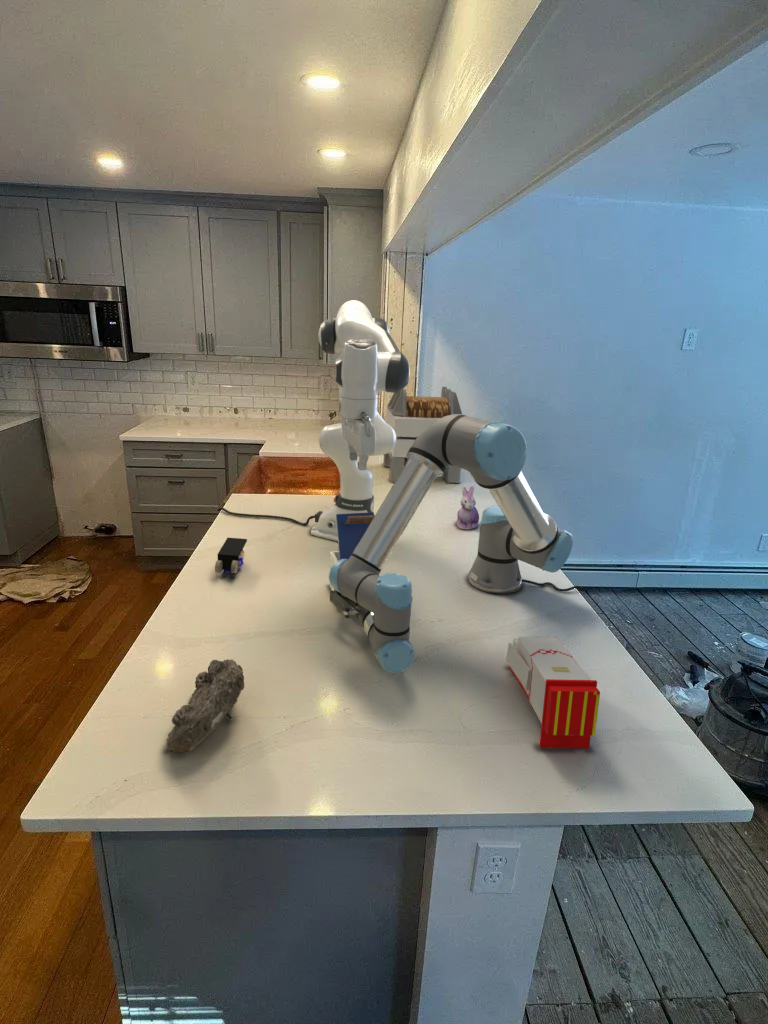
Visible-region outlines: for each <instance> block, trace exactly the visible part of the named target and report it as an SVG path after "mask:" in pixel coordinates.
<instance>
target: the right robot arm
mask: <svg viewBox="0 0 768 1024" xmlns="http://www.w3.org/2000/svg"><path fill="white" fill-rule="evenodd" d="M527 449H528V446H527V442H526V439H525V436H524V435H523V433H522V432H521V430H519V429H518V428H517V427H515V426H513V425H510V424H507V423H505V422H502V421H494V420H489V419H484V418H479V417H473V416H469V415H465V414H463V413H462V414H452V415H448V416H445V417H442V418H440V419H438V420H437V421H435V422H434V423H432V424H431V425H430V426H429V427H427V428H426V429H425V430H424V431H423V432H422V433H421V434H420V435H419V437H418V438H417V439H416V440H415V442H414V443H413V444H412V446H411V447H410V449H409V451H408V453H407V454H406V456H407V459H408V461H407V463H406V464H405V465H404V468H403V469H402V471H401V473H400V474H399V476H398V478H397V480H396V481H395V482H393V485H392V486H391V488H390V490H389V491H388V493H387V495H386V496H385V498H384V500H383V501H382V503H381V504H380V506H379V508H378V509H377V511H376V513H375V514H374V515H375V516H374V518H373V520H372V521H371V523H370V525H369V526H368V528H367V530H366V531H365V533H364V535H363V536H362V538H361V540H360V541H359V543H358V545H357V546H356V548H355V550H354V551H353V553H352V555H351V556H350V558H349V559H341V560H339V561H338V562H337V563H335V564H334V565H333V566H332V568H331V570H330V569H329V573H328V582H329V585H330V584H331V586H332V587H333V588H334V591H332V590H330V591H329V602H330V603H332V605H334V607H336V609H337V610H338V611H340V612H341V613H342V614H343V617H344V619H349V618H350V616H352V615H354V616H356V617H357V618H358V619H359V622H360V625H361V626H362V628H363V630H364V632H365V634H366V637H367V639H368V641H369V643H370V645H371V647H372V650H373V652H374V655H375V658H376V660H377V661H378V663H379V665H380V666H381V668H382V669H383V670H384V671H386V672H388V673H391V674H398V673H402V672H404V671H406V670H408V669H409V668H410V667H411V665H412V664H413V663H414V660H415V651H414V647H413V645H412V643H411V642H410V633H411V632H410V631H411V616H412V614H411V613H412V603H413V586H412V582H411V580H410V579H409V577H408V576H405V575H403V574H398V573H394V572H390V573H384V574H381V575H380V573H381V571H382V569H383V568H384V566H385V564H386V562H387V561H388V559H389V557H390V556H391V554H392V552H393V551H394V549H395V547H396V546H397V544H398V542H399V541H400V539H401V537H402V535H403V534H404V532H405V531H406V528H407V527H408V525H409V524H410V522H411V520H412V519H413V517H414V515H415V513H416V511H417V510H418V508H419V507H420V505H421V504H422V501H423V500H424V498H425V497H426V495H427V493H428V491H429V490H430V488H431V486H432V484H434V481H435V480H436V478H438V477H442V476H443V475H444V474H443V473H444V471H445V470H446V468H447V467H449V466H450V465H452V466H455V467H458V468H461V470H465V471H467V472H468V473H469V474H470V476H471V477H472V478H473V480H474V482H475V483H476V484H477V485H478V486H479V487H480V488H482V489H485V490H488V491H489V493H490V495H491V496H492V498H493V499H494V501H495V503H496V504H497V505H494V506H489V507H486V508H485V509H484V510H483V511H482V514H481V519H480V522H479V535H478V536H479V537H478V546H477V554H476V557H475V559H474V562H473V564H472V565H471V568H470V570H469V572H468V583H470V585H471V586H472V587H474V588H475V589H477V590H480V591H483V592H486V593H490V594H496V595H505V594H506V595H507V594H512V593H515V592H517V591H519V590H520V589H521V586H522V583H527V584H530V585H534V586H538V587H543V586H550V587H552V588H553V589H554V590H556V591H558V592H562V593H563V592H564V593H565V592H569V591H572V590H575V589H578V590H581V591H582V592H586V589H584V588H583V587H582V586H581V585H574V586H571V587H567V588H559V587H557V586H556V585H555V584H554V583H552V582H549V581H547V582H543V583H541V582H535V581H532V580H528V579H524V578H522V575H521V570H520V565H519V561H520V562H523V563H526V564H528V565H531V566H533V567H535V568H537V569H541V570H542V571H543V572H548V573H557V572H558V571H560V570H561V569H562V568H563V567H564V565H565V564H566V562H567V561H568V559H569V557H570V555H571V552H572V549H573V545H574V537H573V535H572V533H571V532H569V531H567V530H566V529H564V530H563V529H561V528H559V527H558V525H557V523H556V521H555V520H554V519H553V517H552V516H551V515H549V514H547V513H545V512H543V509H542V508H541V506H540V504H539V502H538V500H537V498H536V495H534V493H533V491H532V489H531V487H530V484H529V483H528V481H527V479H526V478H525V476H524V474H523V472H522V470H523V469H524V467H525V464H526V460H527V453H526V451H527ZM574 588H575V589H574ZM351 607H352V608H351ZM353 608H354V609H353Z"/></svg>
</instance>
